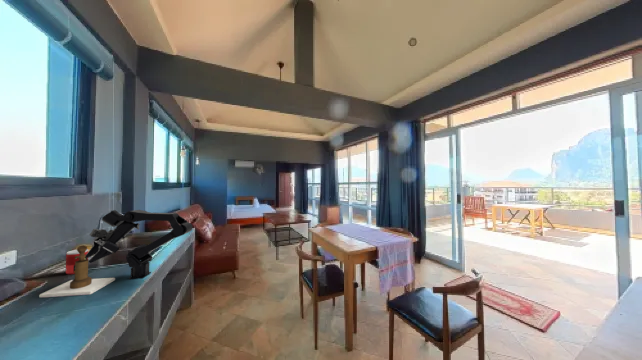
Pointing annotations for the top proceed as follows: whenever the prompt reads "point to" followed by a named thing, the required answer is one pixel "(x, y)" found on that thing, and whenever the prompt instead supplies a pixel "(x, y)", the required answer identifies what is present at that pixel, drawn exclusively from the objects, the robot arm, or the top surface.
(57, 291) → the tile
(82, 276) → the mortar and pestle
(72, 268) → the canned food
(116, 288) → the top surface
